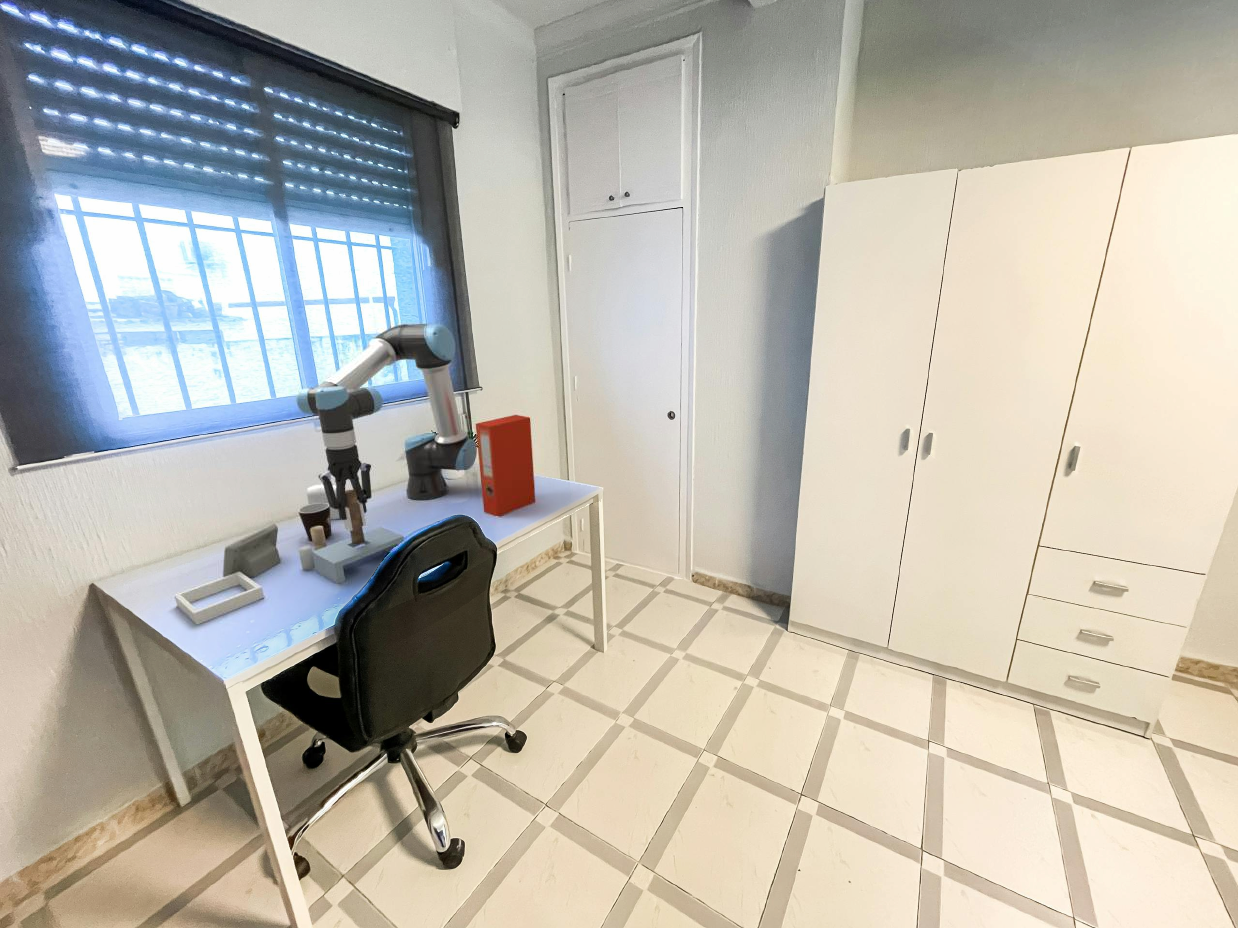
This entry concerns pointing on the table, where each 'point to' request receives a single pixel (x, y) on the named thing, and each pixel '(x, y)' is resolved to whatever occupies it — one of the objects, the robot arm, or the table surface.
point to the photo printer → (321, 498)
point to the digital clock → (252, 553)
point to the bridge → (352, 552)
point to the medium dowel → (318, 537)
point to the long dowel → (354, 517)
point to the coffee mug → (316, 518)
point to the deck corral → (222, 606)
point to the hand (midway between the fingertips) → (355, 526)
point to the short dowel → (306, 557)
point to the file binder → (506, 464)
